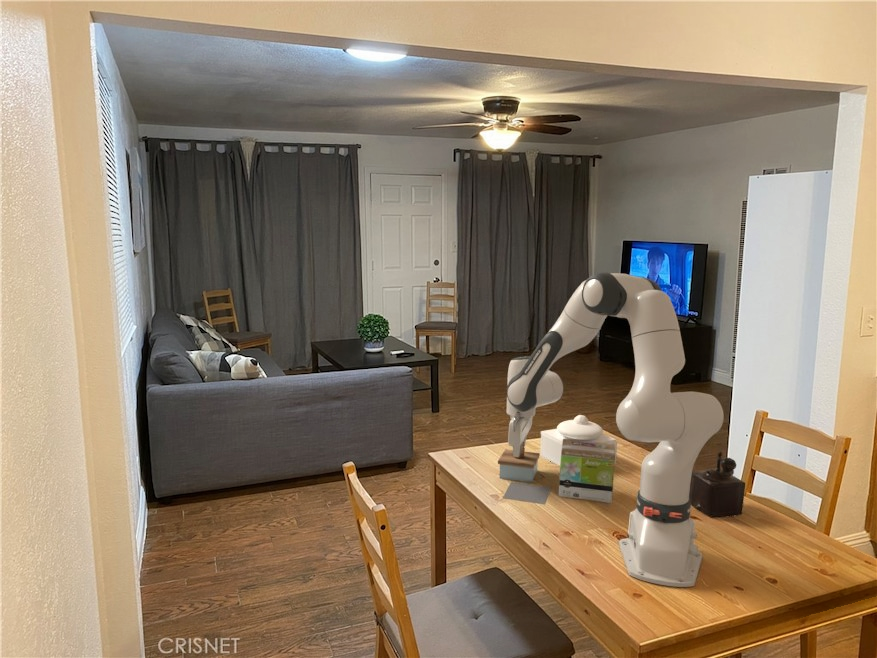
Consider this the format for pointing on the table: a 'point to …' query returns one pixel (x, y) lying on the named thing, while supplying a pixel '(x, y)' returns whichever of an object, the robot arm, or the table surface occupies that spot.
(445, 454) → the table surface
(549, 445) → the white lidded container
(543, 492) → the mat
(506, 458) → the lid
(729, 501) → the coffee grinder
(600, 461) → the tea box
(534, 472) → the dish
